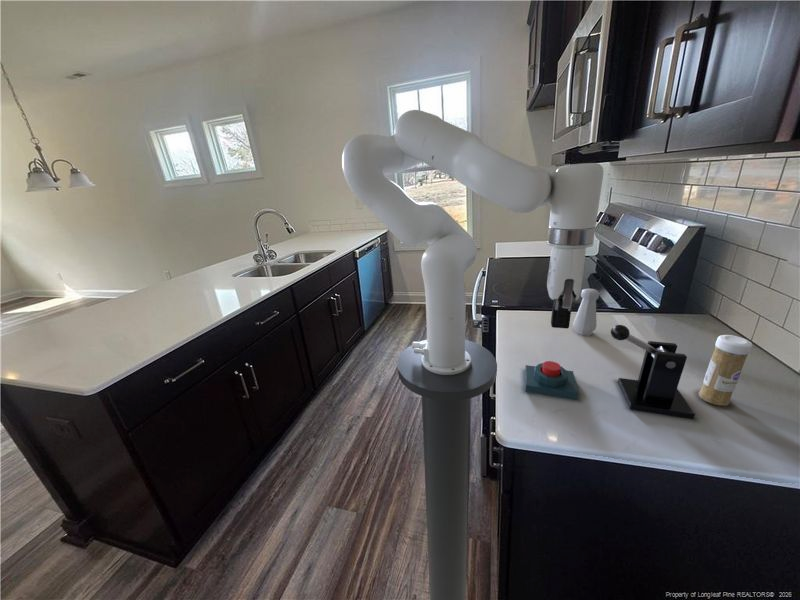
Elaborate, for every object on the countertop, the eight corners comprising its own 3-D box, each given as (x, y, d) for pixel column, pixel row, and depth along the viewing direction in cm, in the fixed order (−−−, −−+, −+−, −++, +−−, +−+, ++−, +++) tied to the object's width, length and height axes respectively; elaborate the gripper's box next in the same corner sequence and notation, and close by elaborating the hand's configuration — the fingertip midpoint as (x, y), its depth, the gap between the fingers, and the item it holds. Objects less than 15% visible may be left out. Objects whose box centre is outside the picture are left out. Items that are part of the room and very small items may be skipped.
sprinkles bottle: (723, 410, 60) (747, 348, 55) (693, 397, 64) (713, 338, 59) (733, 401, 62) (757, 340, 57) (703, 389, 66) (723, 331, 61)
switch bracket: (629, 409, 62) (643, 357, 57) (617, 382, 69) (628, 334, 65) (693, 419, 58) (713, 365, 54) (673, 389, 66) (688, 340, 62)
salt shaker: (567, 329, 93) (573, 288, 88) (583, 326, 94) (590, 285, 89) (583, 338, 88) (591, 294, 83) (599, 334, 89) (608, 291, 84)
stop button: (542, 375, 68) (543, 369, 67) (541, 366, 71) (542, 360, 70) (560, 378, 67) (562, 371, 66) (559, 368, 70) (560, 362, 69)
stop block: (525, 391, 68) (526, 378, 67) (524, 371, 75) (526, 358, 74) (577, 399, 65) (580, 385, 64) (571, 377, 72) (574, 364, 71)
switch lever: (609, 337, 61) (620, 326, 59) (605, 330, 63) (616, 319, 62) (668, 370, 59) (681, 359, 58) (662, 361, 62) (674, 350, 61)
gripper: (545, 230, 66) (537, 310, 72) (551, 245, 53) (541, 342, 59) (586, 229, 63) (574, 313, 70) (603, 245, 50) (587, 346, 57)
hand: (559, 326), depth 65 cm, fingers closed
